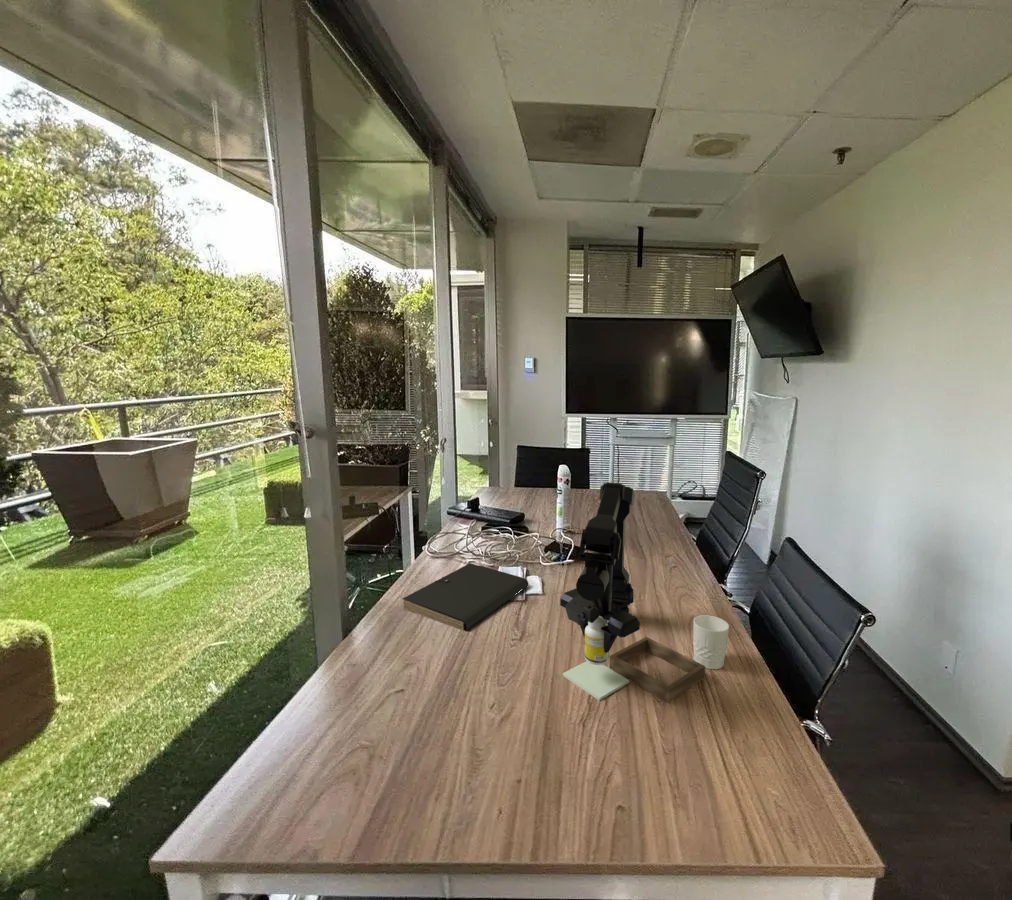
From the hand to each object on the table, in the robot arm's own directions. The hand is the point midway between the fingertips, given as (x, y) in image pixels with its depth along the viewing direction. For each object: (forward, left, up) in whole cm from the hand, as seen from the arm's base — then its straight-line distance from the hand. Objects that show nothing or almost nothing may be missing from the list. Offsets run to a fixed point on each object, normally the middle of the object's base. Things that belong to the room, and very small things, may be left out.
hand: (596, 646), depth 109 cm
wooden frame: (+7, +13, -8) cm, 17 cm away
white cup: (+12, +27, -8) cm, 31 cm away
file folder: (-52, 0, -9) cm, 53 cm away
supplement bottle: (0, 0, -3) cm, 3 cm away
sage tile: (0, 0, -8) cm, 8 cm away
